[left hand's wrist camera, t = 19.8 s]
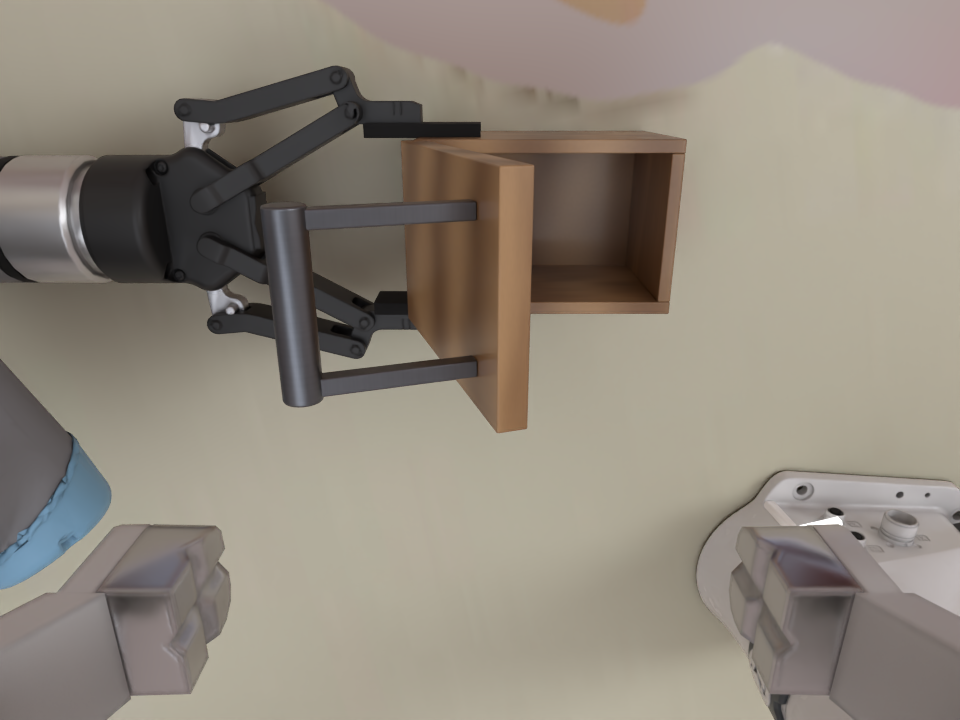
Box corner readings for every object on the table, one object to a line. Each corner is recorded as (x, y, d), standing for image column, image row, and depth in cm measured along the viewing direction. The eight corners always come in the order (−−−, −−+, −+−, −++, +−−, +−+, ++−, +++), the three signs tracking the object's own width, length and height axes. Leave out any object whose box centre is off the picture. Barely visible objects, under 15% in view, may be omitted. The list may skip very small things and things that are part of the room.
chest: (644, 130, 44) (687, 139, 35) (632, 272, 48) (668, 313, 39) (428, 131, 45) (413, 139, 35) (431, 272, 48) (419, 313, 39)
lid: (535, 164, 22) (256, 173, 19) (527, 429, 25) (291, 466, 23) (424, 139, 35) (250, 143, 32) (429, 316, 38) (272, 331, 36)
